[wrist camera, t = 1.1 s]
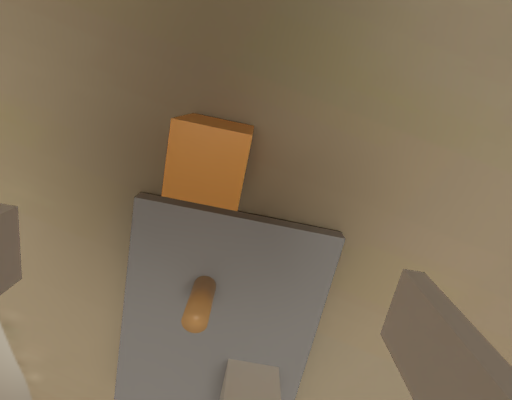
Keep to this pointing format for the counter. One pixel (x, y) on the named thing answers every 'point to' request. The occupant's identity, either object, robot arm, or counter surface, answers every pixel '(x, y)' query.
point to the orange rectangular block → (206, 160)
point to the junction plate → (220, 302)
